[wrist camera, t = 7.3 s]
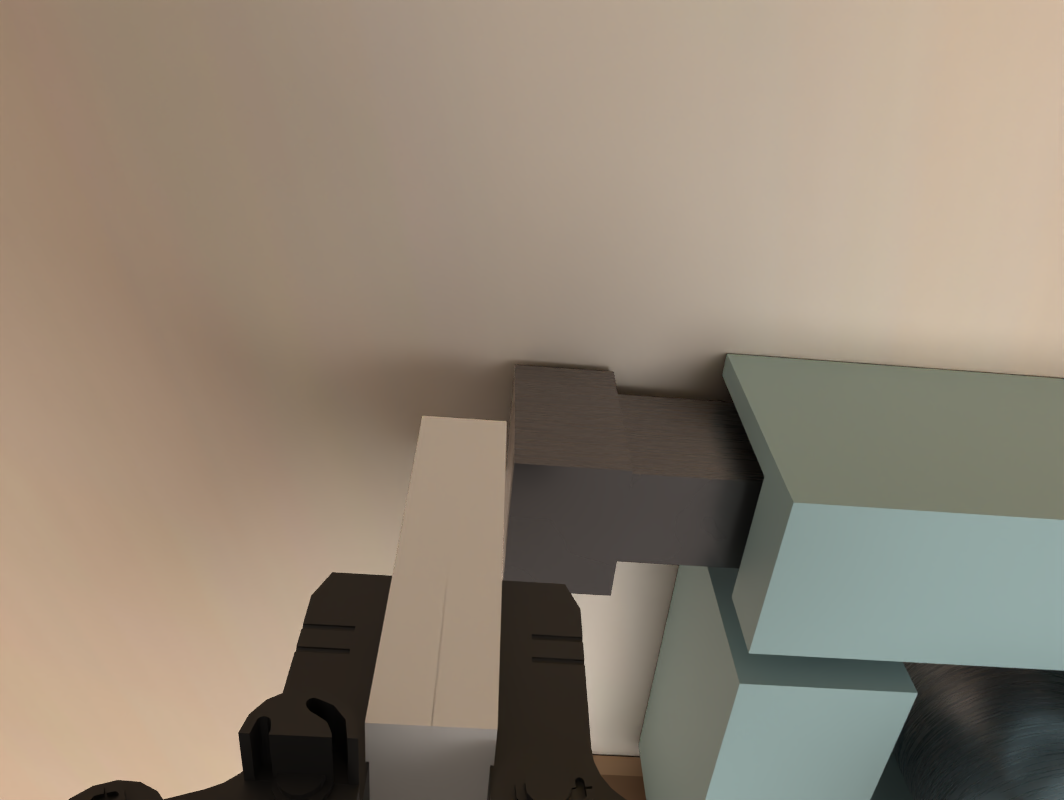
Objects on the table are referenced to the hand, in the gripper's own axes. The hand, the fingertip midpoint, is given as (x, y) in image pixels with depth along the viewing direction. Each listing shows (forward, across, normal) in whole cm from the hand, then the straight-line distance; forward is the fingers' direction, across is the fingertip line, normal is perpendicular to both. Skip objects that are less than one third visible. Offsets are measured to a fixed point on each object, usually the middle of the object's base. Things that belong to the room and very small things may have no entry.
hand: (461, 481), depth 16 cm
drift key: (+3, +6, 0) cm, 6 cm away
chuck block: (+3, +11, -4) cm, 12 cm away
